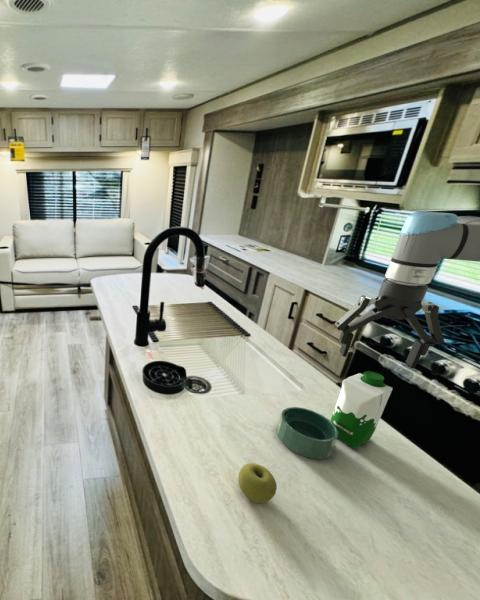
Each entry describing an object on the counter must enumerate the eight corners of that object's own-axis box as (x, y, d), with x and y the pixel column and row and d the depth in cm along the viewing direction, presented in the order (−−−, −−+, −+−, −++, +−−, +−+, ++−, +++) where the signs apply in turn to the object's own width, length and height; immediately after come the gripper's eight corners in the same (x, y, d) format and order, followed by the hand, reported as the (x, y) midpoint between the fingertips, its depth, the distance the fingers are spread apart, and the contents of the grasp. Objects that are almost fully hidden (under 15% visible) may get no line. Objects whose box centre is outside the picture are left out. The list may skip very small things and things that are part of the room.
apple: (244, 510, 70) (250, 487, 67) (230, 478, 78) (235, 457, 75) (279, 511, 70) (286, 489, 67) (261, 479, 77) (267, 458, 74)
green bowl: (324, 431, 91) (330, 413, 89) (337, 466, 80) (345, 447, 77) (273, 419, 96) (278, 402, 93) (280, 451, 85) (285, 433, 82)
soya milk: (374, 441, 87) (400, 382, 80) (355, 452, 84) (380, 391, 76) (340, 420, 95) (360, 364, 87) (321, 430, 91) (340, 372, 84)
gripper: (344, 280, 74) (320, 356, 81) (493, 293, 64) (450, 378, 72) (335, 271, 80) (313, 343, 88) (469, 282, 71) (432, 362, 78)
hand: (375, 359), depth 80 cm, fingers open, 13 cm apart
